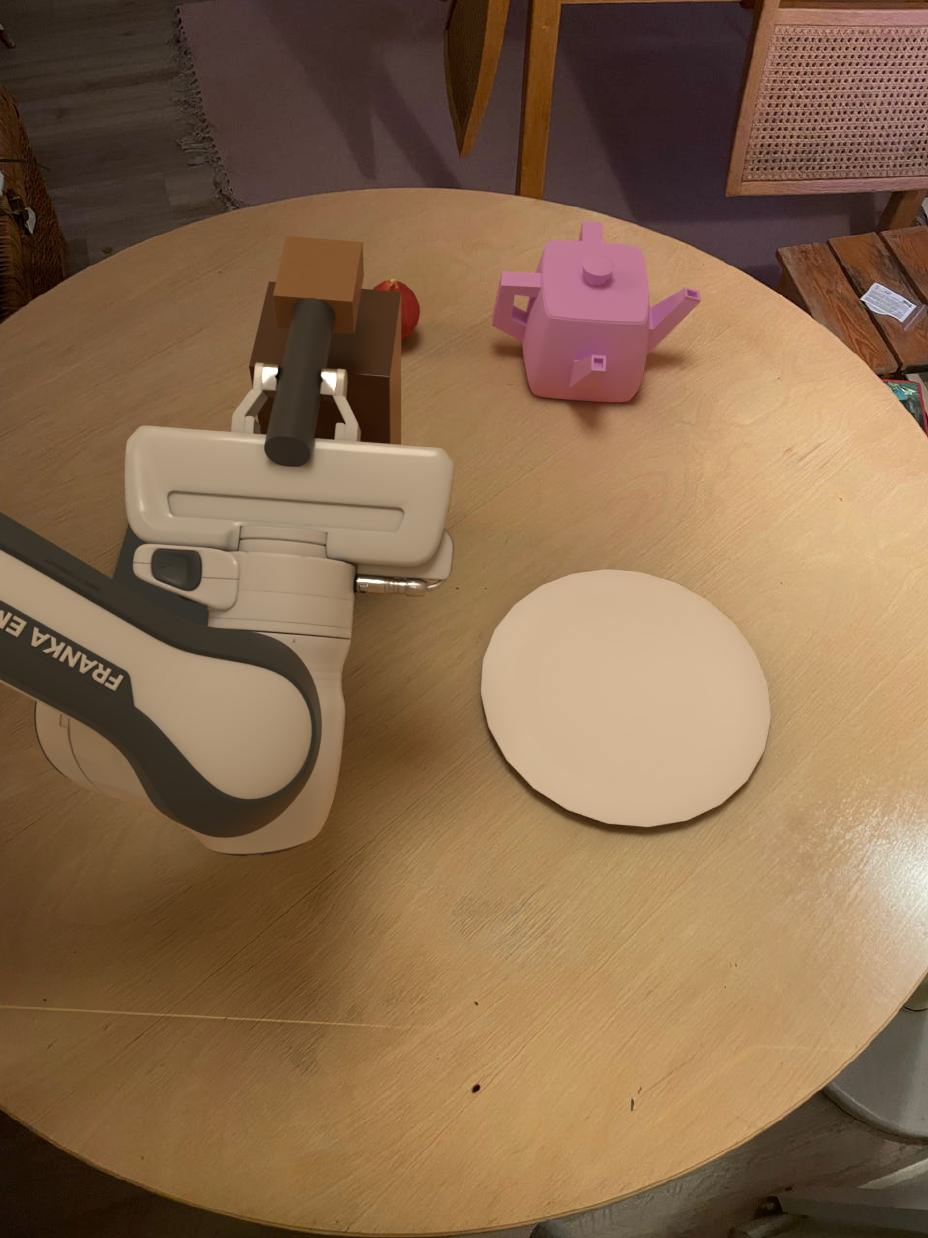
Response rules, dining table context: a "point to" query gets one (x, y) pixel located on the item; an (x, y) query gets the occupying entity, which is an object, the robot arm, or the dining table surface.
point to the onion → (404, 305)
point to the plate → (625, 698)
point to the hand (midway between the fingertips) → (301, 367)
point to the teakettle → (587, 318)
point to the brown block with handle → (309, 335)
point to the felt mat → (150, 591)
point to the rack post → (349, 367)
